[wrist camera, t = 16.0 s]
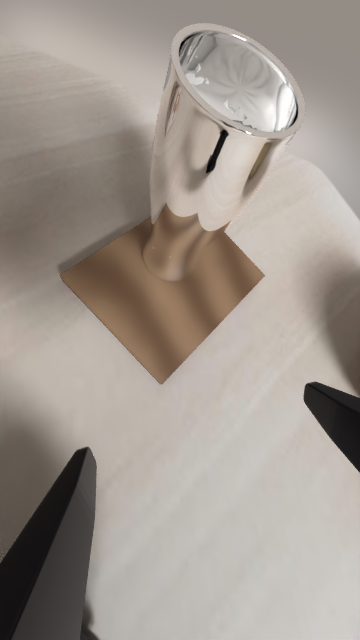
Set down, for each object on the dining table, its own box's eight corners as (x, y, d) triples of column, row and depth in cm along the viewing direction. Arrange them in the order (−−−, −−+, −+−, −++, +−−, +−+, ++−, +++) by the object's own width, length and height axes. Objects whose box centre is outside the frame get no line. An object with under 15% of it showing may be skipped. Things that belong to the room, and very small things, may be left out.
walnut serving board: (159, 383, 21) (162, 384, 20) (62, 280, 21) (59, 275, 20) (259, 279, 27) (265, 275, 26) (184, 200, 27) (187, 193, 26)
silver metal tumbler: (147, 220, 24) (186, -5, 10) (204, 242, 25) (311, 71, 11) (130, 273, 22) (145, 85, 8) (193, 294, 23) (307, 166, 9)
